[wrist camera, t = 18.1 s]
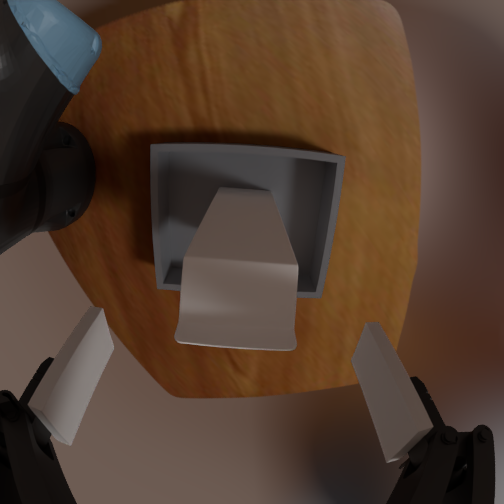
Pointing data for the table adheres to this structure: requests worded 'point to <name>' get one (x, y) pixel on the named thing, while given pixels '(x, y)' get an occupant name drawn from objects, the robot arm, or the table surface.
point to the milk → (239, 276)
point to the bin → (245, 177)
